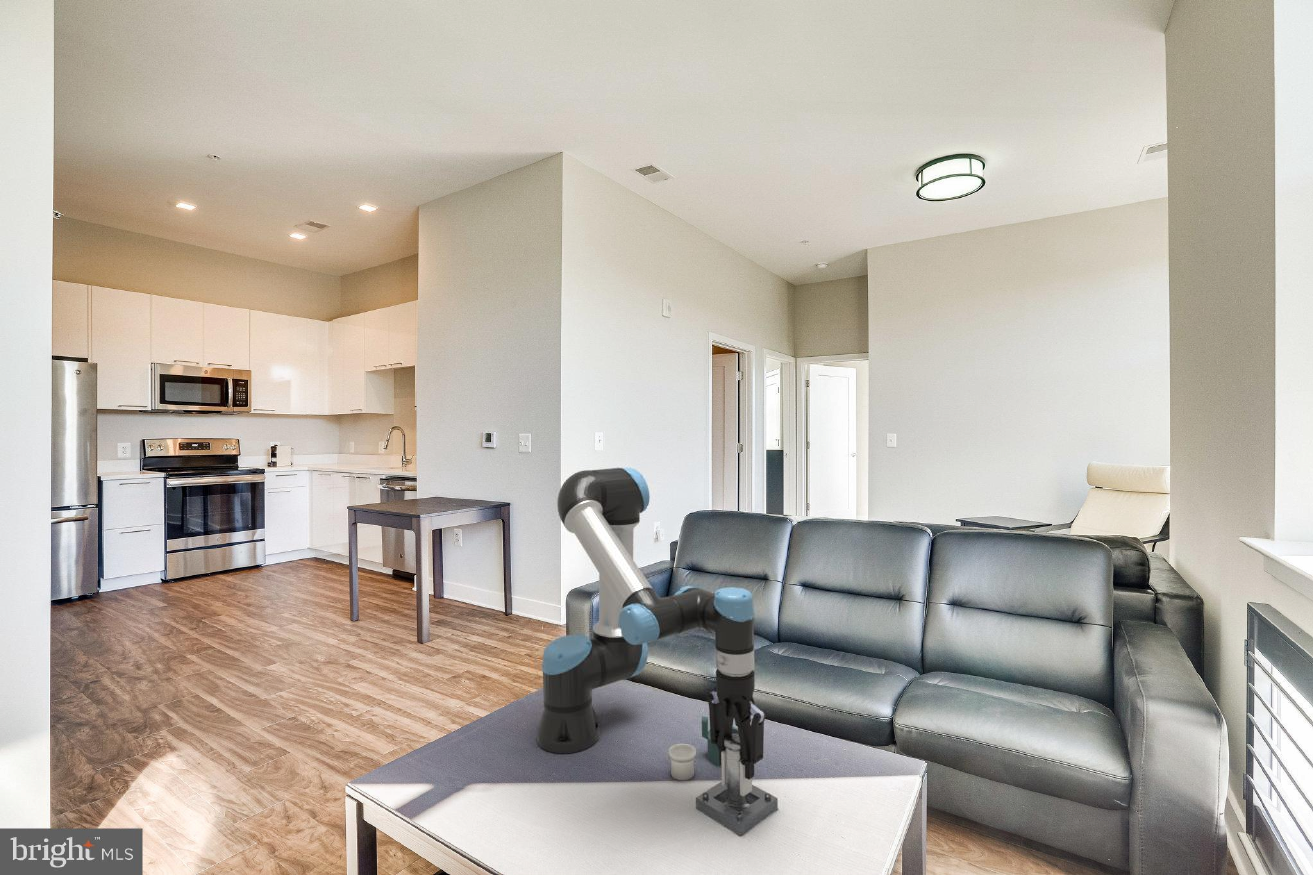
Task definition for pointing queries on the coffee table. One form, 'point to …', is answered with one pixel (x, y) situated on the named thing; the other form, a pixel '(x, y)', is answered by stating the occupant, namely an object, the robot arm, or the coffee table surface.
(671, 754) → the cup
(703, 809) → the socket
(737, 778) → the grey cylinder
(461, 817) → the coffee table surface
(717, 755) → the green cup holder
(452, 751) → the coffee table surface
